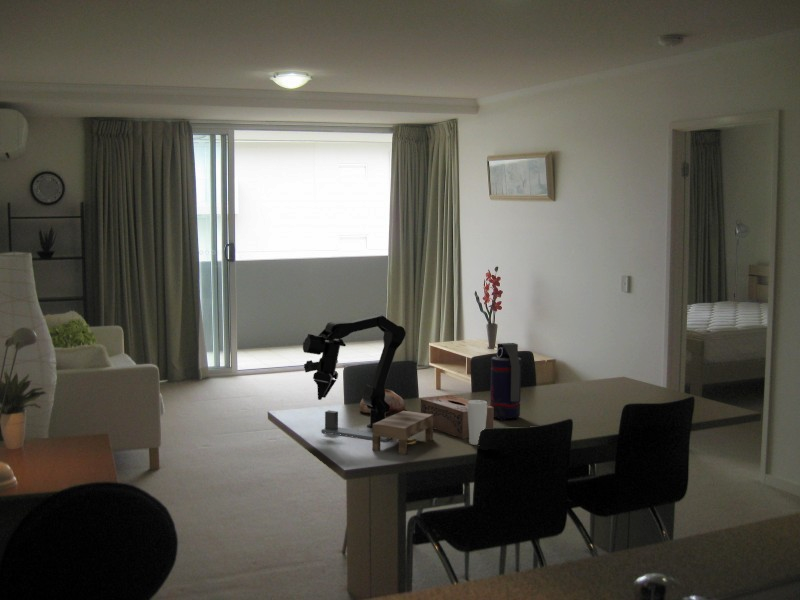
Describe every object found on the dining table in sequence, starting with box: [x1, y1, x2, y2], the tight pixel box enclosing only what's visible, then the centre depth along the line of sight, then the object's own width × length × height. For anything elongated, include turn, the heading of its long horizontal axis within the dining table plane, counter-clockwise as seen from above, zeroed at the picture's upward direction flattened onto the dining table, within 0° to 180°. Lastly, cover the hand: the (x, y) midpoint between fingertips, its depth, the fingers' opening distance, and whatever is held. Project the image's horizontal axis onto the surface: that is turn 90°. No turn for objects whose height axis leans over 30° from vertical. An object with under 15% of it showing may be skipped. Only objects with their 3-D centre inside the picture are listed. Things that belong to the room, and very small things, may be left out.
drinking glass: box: [468, 399, 488, 446], centre depth 291 cm, size 7×7×15 cm
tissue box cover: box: [420, 394, 495, 439], centre depth 313 cm, size 26×14×10 cm, turn 35°
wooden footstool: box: [371, 410, 434, 456], centre depth 289 cm, size 23×12×9 cm, turn 153°
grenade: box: [489, 342, 522, 421], centre depth 329 cm, size 14×12×30 cm
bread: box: [359, 388, 406, 416], centre depth 341 cm, size 16×20×10 cm
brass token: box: [407, 437, 417, 445], centre depth 292 cm, size 6×6×1 cm
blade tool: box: [320, 409, 392, 442], centre depth 301 cm, size 6×26×8 cm, turn 64°
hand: (321, 398), depth 302 cm, fingers open, 9 cm apart
